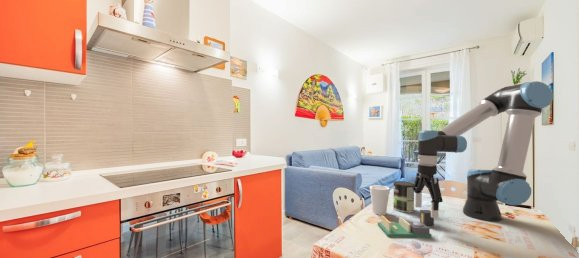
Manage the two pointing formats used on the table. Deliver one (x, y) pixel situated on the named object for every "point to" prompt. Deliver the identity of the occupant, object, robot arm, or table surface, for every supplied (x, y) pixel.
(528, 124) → the robot arm
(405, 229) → the board
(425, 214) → the plug
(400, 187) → the coffee can
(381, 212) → the foam cup
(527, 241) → the table surface
